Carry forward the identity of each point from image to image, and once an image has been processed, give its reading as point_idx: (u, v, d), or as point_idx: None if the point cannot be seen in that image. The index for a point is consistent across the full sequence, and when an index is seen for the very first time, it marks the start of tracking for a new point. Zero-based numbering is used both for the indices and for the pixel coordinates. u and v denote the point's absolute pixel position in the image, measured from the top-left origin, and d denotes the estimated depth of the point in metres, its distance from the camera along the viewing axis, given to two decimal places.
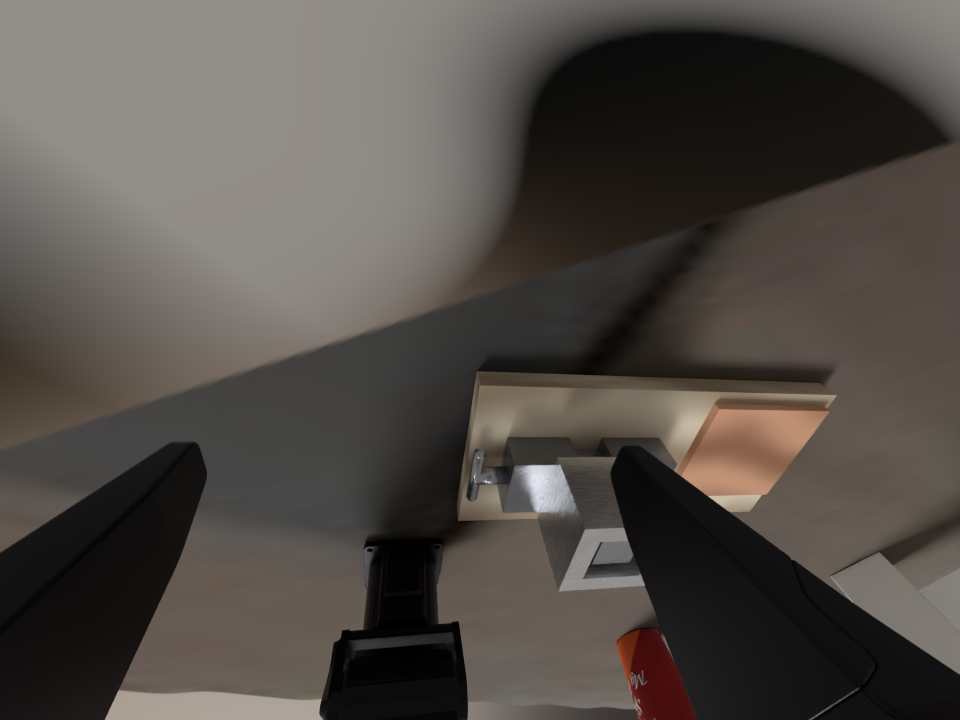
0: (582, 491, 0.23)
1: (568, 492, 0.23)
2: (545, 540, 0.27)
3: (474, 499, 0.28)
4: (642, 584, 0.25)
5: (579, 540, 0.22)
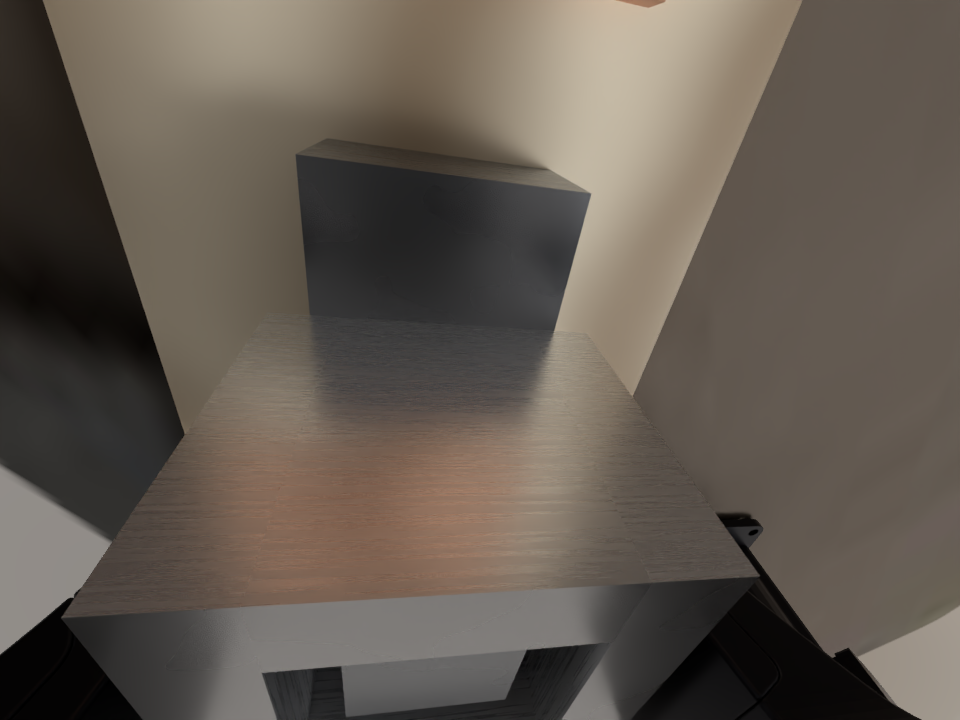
0: None
1: None
2: None
3: None
4: (722, 605, 0.04)
5: None
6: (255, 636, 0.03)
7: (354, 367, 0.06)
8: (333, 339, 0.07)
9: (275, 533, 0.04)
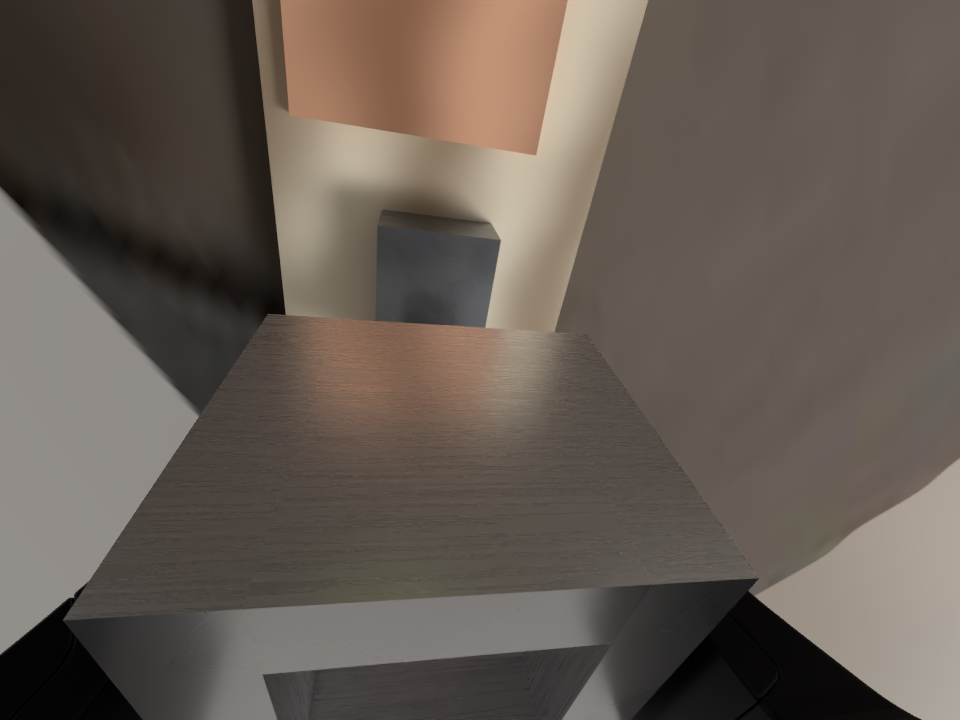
0: None
1: None
2: None
3: None
4: (722, 607, 0.04)
5: None
6: (257, 637, 0.03)
7: (354, 369, 0.06)
8: (333, 341, 0.07)
9: (275, 536, 0.04)
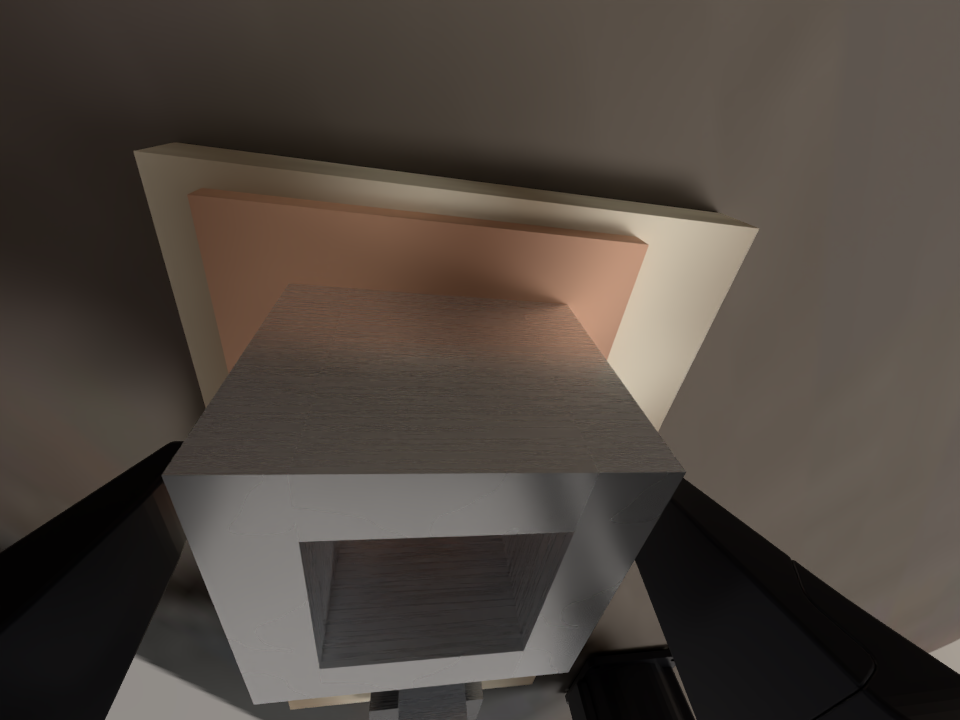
0: None
1: None
2: None
3: None
4: (660, 500, 0.06)
5: (316, 694, 0.08)
6: (297, 503, 0.05)
7: (364, 325, 0.07)
8: (346, 304, 0.08)
9: (309, 433, 0.05)
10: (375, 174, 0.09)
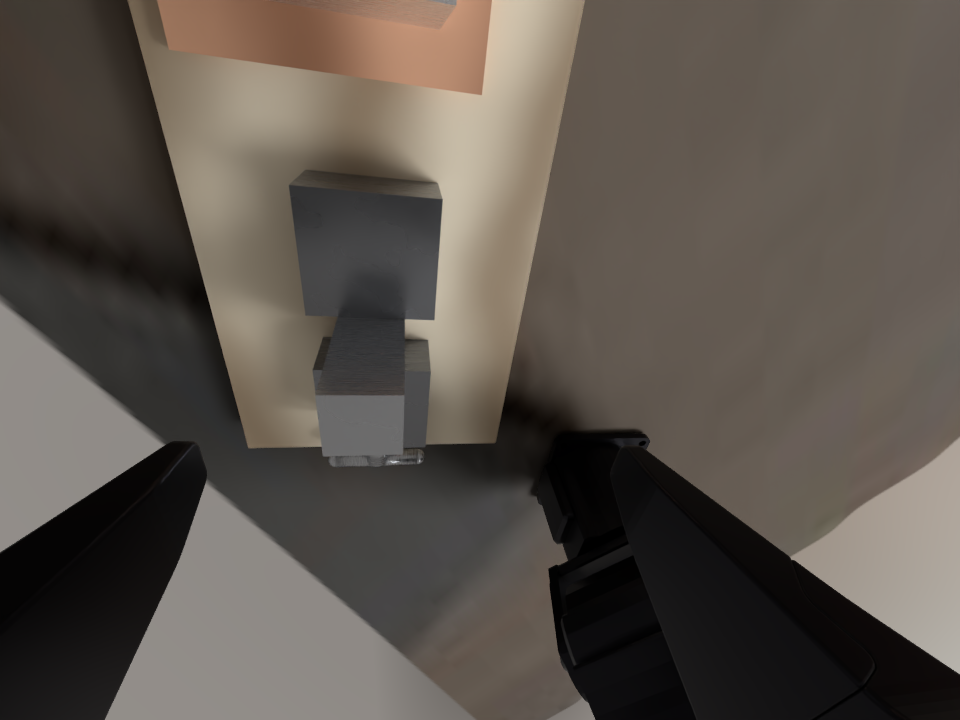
0: None
1: None
2: (432, 21, 0.11)
3: (416, 460, 0.21)
4: None
5: None
6: None
7: None
8: None
9: None
10: None
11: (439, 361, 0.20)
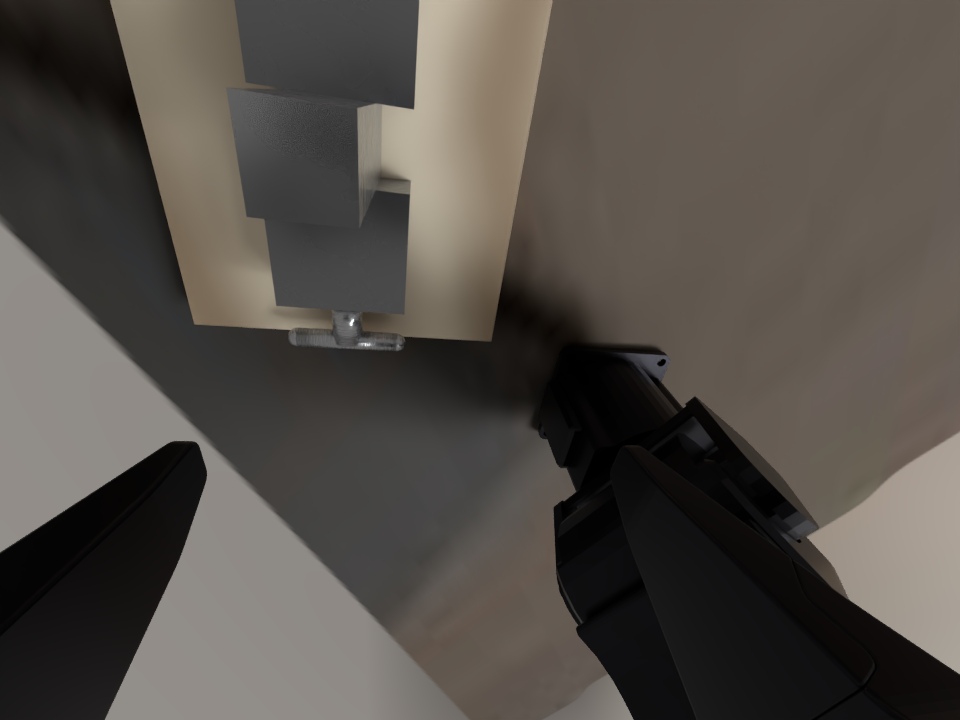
0: None
1: None
2: None
3: (394, 344, 0.17)
4: None
5: None
6: None
7: None
8: None
9: None
10: None
11: (424, 215, 0.16)
